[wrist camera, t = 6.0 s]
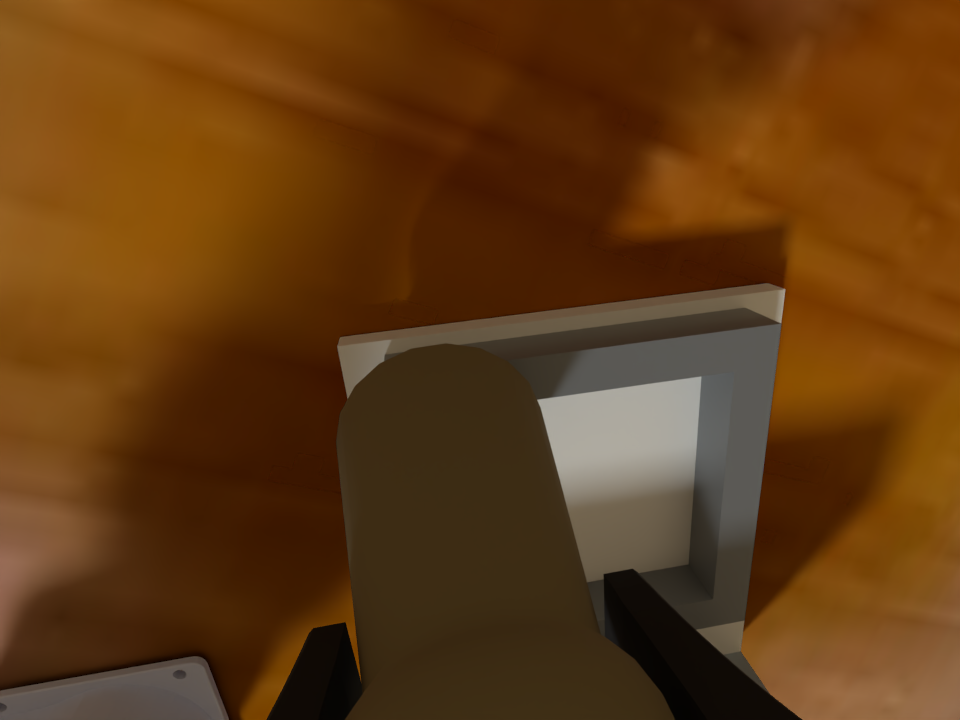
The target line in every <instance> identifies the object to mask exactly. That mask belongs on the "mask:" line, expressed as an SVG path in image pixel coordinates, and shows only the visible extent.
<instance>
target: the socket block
mask: <svg viewBox="0 0 960 720" xmlns="http://www.w3.org/2000/svg"><path fill="white" fill-rule="evenodd" d="M784 296H785V289H784V288H781V287H778V286H775V285H772V284H769V283H764V284H756V285H748V286H740V287H733V288H725V289H717V290H709V291H701V292H693V293H685V294H677V295H669V296H661V297H653V298H645V299H638V300H630V301H622V302H614V303H606V304H598V305H590V306H582V307H574V308H566V309H558V310H550V311H542V312H535V313H527V314H519V315H511V316H503V317H495V318H487V319H479V320H471V321H463V322H455V323H447V324H440V325H432V326H424V327H416V328H408V329H400V330H392V331H384V332H376V333H368V334H360V335H352V336H345V337H340V339H339V342H338V345H337V348H338V353H339V358H340V363H341V368H342V373H343V379H344V384H345V389H346V394H347V399H348V398H349V396H350V394H351V392H352V390H353V388H354V387H355V385H357V384H358V383H359V382H360V381H361V380H362V379H363V378H364V377H365V376H366V375H367V374H369V373H370V372H371V371H372V370H373V369H374V368H375V367H376V366H377V365H378V364H379V363H382V362H384V361H386V360H388V359H390V358H392V357H394V356H397V355H399V354H401V353H403V352H405V351H407V350H409V349H412V348H418V347H425V346H431V345H438V344H444V343H448V344H455V345H462V346H470V347H477V348H481V349H483V350H485V351H487V352H489V353H492V354H494V355H496V356H498V357H500V358H502V359H504V360H506V361H508V362H509V363H510V364H511V365H512V366H513V367H514V368H515V369H516V370H517V371H518V372H519V373H520V374H521V375H522V376H523V377H524V378H525V379H526V380H527V381H528V382H529V383H530V385H531V387H532V390H533V392H534V394H535V396H536V399H537V401H538V403H539V405H540V408H541V411H542V415H543V419H544V422H545V426H546V430H547V434H548V437H549V441H550V445H551V449H552V452H553V456H554V460H555V464H556V468H557V471H558V475H559V479H560V483H561V486H562V490H563V494H564V498H565V501H566V505H567V509H568V513H569V516H570V520H571V524H572V528H573V531H574V535H575V539H576V543H577V546H578V550H579V554H580V558H581V561H582V565H583V569H584V573H585V576H586V580H587V584H588V588H589V591H590V595H591V599H592V603H593V606H594V610H595V614H596V618H597V621H598V625H599V629H600V633H601V635H602V636H604V637H605V619H604V574H606V573H612V572H617V571H622V570H628V569H634V570H635V571H637V572H638V573H639V574H640V575H641V576H642V577H643V578H644V579H645V580H646V581H647V582H648V583H649V584H650V585H651V586H652V587H653V588H654V589H655V590H656V591H657V592H658V593H659V594H660V595H661V596H662V597H663V598H664V599H665V600H666V601H667V602H668V603H669V604H670V605H671V606H672V607H673V608H674V609H675V610H676V611H677V612H678V613H679V614H680V615H681V616H682V617H683V618H684V619H685V620H686V621H687V622H688V623H689V624H690V625H691V626H692V627H694V628H695V629H696V630H697V631H698V632H699V633H700V634H701V635H702V636H703V637H704V638H705V639H707V640H708V641H709V642H710V643H711V644H712V645H713V646H714V647H715V648H717V649H718V650H719V651H720V652H721V653H722V654H723V655H724V656H725V657H726V658H728V659H729V660H730V661H731V662H732V663H733V664H734V665H736V666H737V667H738V668H739V669H740V670H741V671H743V672H744V673H745V674H746V675H747V676H748V677H750V678H751V679H752V680H753V681H755V682H756V683H757V684H758V685H759V686H761V687H762V688H763V689H764V690H765V691H767V689H766V688H765V686H764V685H763V683H762V682H761V680H760V679H759V677H758V676H757V675H756V673H755V672H754V670H753V669H752V667H751V666H750V664H749V663H748V661H747V660H746V658H745V657H744V656H743V654H742V653H741V644H742V636H743V628H744V621H745V614H746V605H747V597H748V589H749V581H750V573H751V565H752V557H753V549H754V541H755V533H756V525H757V517H758V509H759V501H760V492H761V484H762V476H763V468H764V460H765V452H766V444H767V436H768V428H769V420H770V412H771V404H772V396H773V387H774V379H775V371H776V363H777V355H778V347H779V339H780V331H781V320H782V312H783V304H784ZM767 692H768V691H767ZM768 693H769V692H768Z"/></svg>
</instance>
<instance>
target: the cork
mask: <svg viewBox="0 0 960 720" xmlns="http://www.w3.org/2000/svg"><path fill="white" fill-rule="evenodd" d="M336 447H337V457H338V466H339V475H340V485H341V494H342V504H343V513H344V523H345V532H346V541H347V551H348V560H349V570H350V579H351V589H352V598H353V607H354V617H355V626H356V636H357V645H358V655H359V664H360V673H361V683H362V692H363V694H362V696H361V697H360V698H359V700H358V701H357V703H356V704H355V706H354V707H353V709H352V710H351V711H350V713H349V714H348V716H347V717H346V719H345V720H675V718H674V716H673V714H672V712H671V710H670V708H669V706H668V704H667V702H666V700H665V698H664V696H663V694H662V693H661V691H660V690H659V689H658V688H657V686H656V685H655V684H654V683H653V681H652V680H651V679H650V678H649V676H648V675H647V674H646V673H645V671H644V670H643V669H642V668H641V666H640V665H639V664H638V663H637V661H636V660H635V659H634V658H633V657H631V656H630V655H629V654H627V653H626V652H625V651H623V650H622V649H621V648H619V647H618V646H617V645H615V644H614V643H613V642H611V641H610V640H609V639H607V638H606V637H604V636H602V635H601V633H600V629H599V625H598V621H597V618H596V614H595V610H594V606H593V603H592V599H591V595H590V591H589V588H588V584H587V580H586V576H585V573H584V569H583V565H582V561H581V558H580V554H579V550H578V546H577V543H576V539H575V535H574V531H573V528H572V524H571V520H570V516H569V513H568V509H567V505H566V501H565V498H564V494H563V490H562V486H561V483H560V479H559V475H558V471H557V468H556V464H555V460H554V456H553V452H552V449H551V445H550V441H549V437H548V434H547V430H546V426H545V422H544V419H543V415H542V411H541V408H540V405H539V403H538V401H537V399H536V396H535V394H534V392H533V390H532V387H531V385H530V383H529V382H528V381H527V380H526V379H525V378H524V377H523V376H522V375H521V374H520V373H519V372H518V371H517V370H516V369H515V368H514V367H513V366H512V365H511V364H510V363H509V362H508V361H506V360H504V359H502V358H500V357H498V356H496V355H494V354H492V353H489V352H487V351H485V350H483V349H481V348H477V347H470V346H462V345H455V344H448V343H444V344H438V345H431V346H425V347H418V348H412V349H409V350H407V351H405V352H403V353H401V354H399V355H397V356H394V357H392V358H390V359H388V360H386V361H384V362H382V363H379V364H378V365H377V366H376V367H375V368H374V369H373V370H372V371H371V372H370V373H369V374H367V375H366V376H365V377H364V378H363V379H362V380H361V381H360V382H359V383H358V384H357V385H355V387H354V388H353V390H352V392H351V394H350V396H349V398H348V399H347V401H346V403H345V405H344V407H343V409H342V410H341V412H340V416H339V423H338V431H337V438H336Z"/></svg>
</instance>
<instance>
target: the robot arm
mask: <svg viewBox="0 0 960 720" xmlns="http://www.w3.org/2000/svg"><path fill="white" fill-rule="evenodd" d="M604 619H605V637H606V638H607V639H609V640H610V641H611V642H613V643H614V644H615V645H617V646H618V647H619V648H621V649H622V650H623V651H625V652H626V653H627V654H629V655H630V656H631V657H633V658H634V659H635V660H636V661H637V663H638V664H639V665H640V666H641V668H642V669H643V670H644V671H645V673H646V674H647V675H648V676H649V678H650V679H651V680H652V681H653V683H654V684H655V685H656V686H657V688H658V689H659V690H660V691H661V693H662V694H663V696H664V698H665V700H666V702H667V704H668V706H669V708H670V710H671V712H672V714H673V716H674V718H675V720H802V719H801V718H799V717H798V716H797V715H796V714H794V713H793V712H792V711H790V710H789V709H788V708H787V707H785V706H784V705H783V704H781V703H780V702H779V701H778V700H776V699H775V698H774V697H773V696H771V695H770V694H769V693H768V692H767V691H765V690H764V689H763V688H762V687H761V686H759V685H758V684H757V683H756V682H755V681H753V680H752V679H751V678H750V677H748V676H747V675H746V674H745V673H744V672H743V671H741V670H740V669H739V668H738V667H737V666H736V665H734V664H733V663H732V662H731V661H730V660H729V659H728V658H726V657H725V656H724V655H723V654H722V653H721V652H720V651H719V650H718V649H717V648H715V647H714V646H713V645H712V644H711V643H710V642H709V641H708V640H707V639H705V638H704V637H703V636H702V635H701V634H700V633H699V632H698V631H697V630H696V629H695V628H694V627H692V626H691V625H690V624H689V623H688V622H687V621H686V620H685V619H684V618H683V617H682V616H681V615H680V614H679V613H678V612H677V611H676V610H675V609H674V608H673V607H672V606H671V605H670V604H669V603H668V602H667V601H666V600H665V599H664V598H663V597H662V596H661V595H660V594H659V593H658V592H657V591H656V590H655V589H654V588H653V587H652V586H651V585H650V584H649V583H648V582H647V581H646V580H645V579H644V578H643V577H642V576H641V575H640V574H639V573H638V572H637V571H635V570H634V569H628V570H622V571H617V572H612V573H606V574H604ZM181 670H182V671H181ZM362 694H363V692H362V684H361V680H360V676H359V673H358V669H357V665H356V661H355V657H354V653H353V650H352V646H351V642H350V638H349V634H348V630H347V627H346V623H345V622H344V623H339V624H333V625H328V626H323V627H317V628H313V629H312V631H311V632H310V633H309V634H308V637H307V639H306V641H305V643H304V645H303V648H302V650H301V652H300V654H299V656H298V658H297V660H296V662H295V665H294V667H293V669H292V671H291V673H290V675H289V677H288V679H287V681H286V683H285V685H284V687H283V689H282V691H281V693H280V695H279V697H278V699H277V701H276V703H275V705H274V707H273V708H272V710H271V712H270V714H269V716H268V718H267V720H345V719H346V717H347V716H348V714H349V713H350V711H351V710H352V709H353V707H354V706H355V704H356V703H357V701H358V700H359V698H360V697H361V696H362ZM0 720H229V718H228V715H227V713H226V710H225V708H224V705H223V702H222V700H221V697H220V695H219V692H218V689H217V687H216V684H215V681H214V679H213V676H212V674H211V671H210V668H209V666H208V663H207V662H206V660H205V659H203V658H202V657H198V656H192V657H187V658H181V659H175V660H170V661H164V662H158V663H153V664H147V665H142V666H136V667H130V668H125V669H119V670H113V671H108V672H102V673H97V674H91V675H85V676H80V677H74V678H68V679H63V680H57V681H52V682H46V683H40V684H35V685H29V686H23V687H18V688H12V689H7V690H1V691H0Z"/></svg>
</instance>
